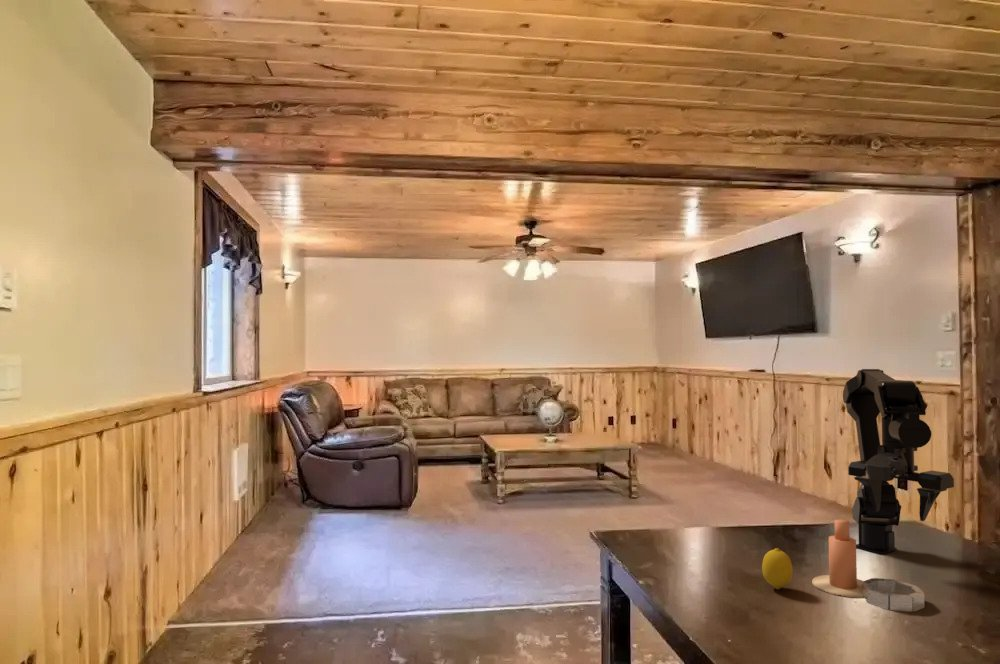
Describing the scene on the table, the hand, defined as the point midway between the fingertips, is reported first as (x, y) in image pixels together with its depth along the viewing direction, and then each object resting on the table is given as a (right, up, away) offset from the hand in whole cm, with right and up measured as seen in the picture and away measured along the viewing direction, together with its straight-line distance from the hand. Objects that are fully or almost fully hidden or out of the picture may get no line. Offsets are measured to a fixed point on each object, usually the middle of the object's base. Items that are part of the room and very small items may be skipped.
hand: (899, 515), depth 137 cm
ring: (-10, -12, -14) cm, 21 cm away
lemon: (-29, -12, -8) cm, 32 cm away
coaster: (-15, -12, -7) cm, 21 cm away
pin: (-15, -12, -7) cm, 21 cm away
